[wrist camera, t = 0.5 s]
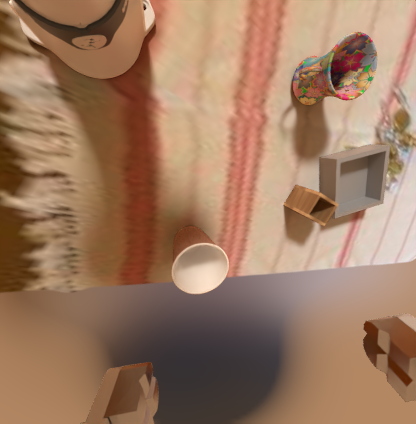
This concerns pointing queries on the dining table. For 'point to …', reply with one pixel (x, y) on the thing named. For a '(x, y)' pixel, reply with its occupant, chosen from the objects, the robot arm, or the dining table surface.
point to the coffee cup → (197, 262)
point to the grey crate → (355, 178)
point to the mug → (337, 71)
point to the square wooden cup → (311, 204)
